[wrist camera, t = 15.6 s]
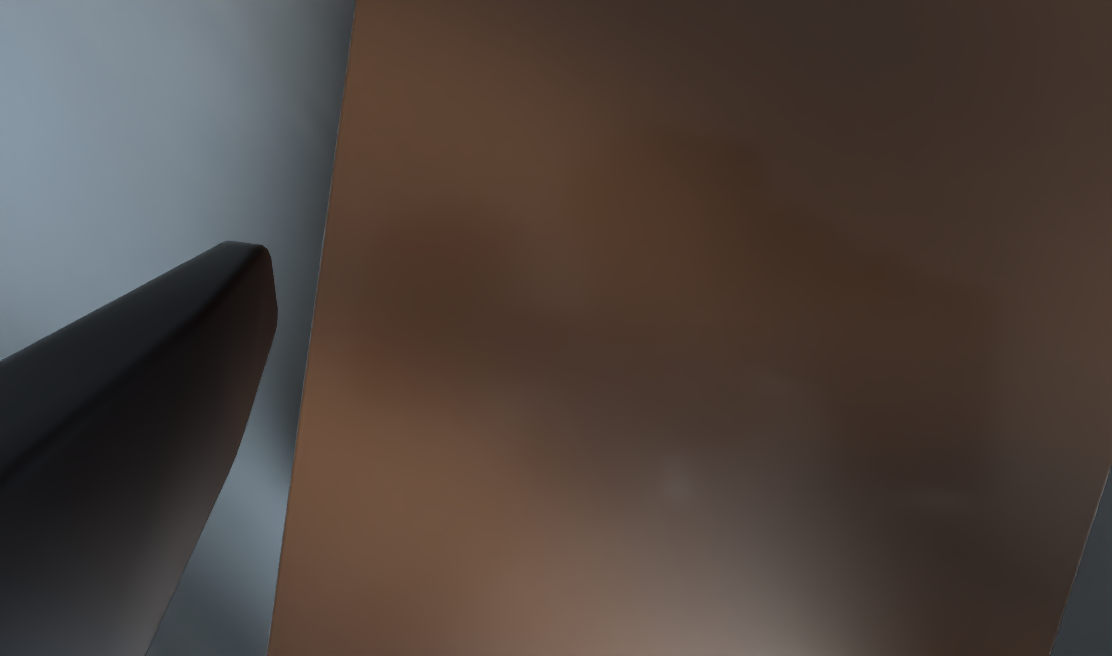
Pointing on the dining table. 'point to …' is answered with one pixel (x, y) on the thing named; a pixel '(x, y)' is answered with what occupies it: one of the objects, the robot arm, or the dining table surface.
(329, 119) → the dining table surface
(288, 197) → the dining table surface
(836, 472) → the cabinet
